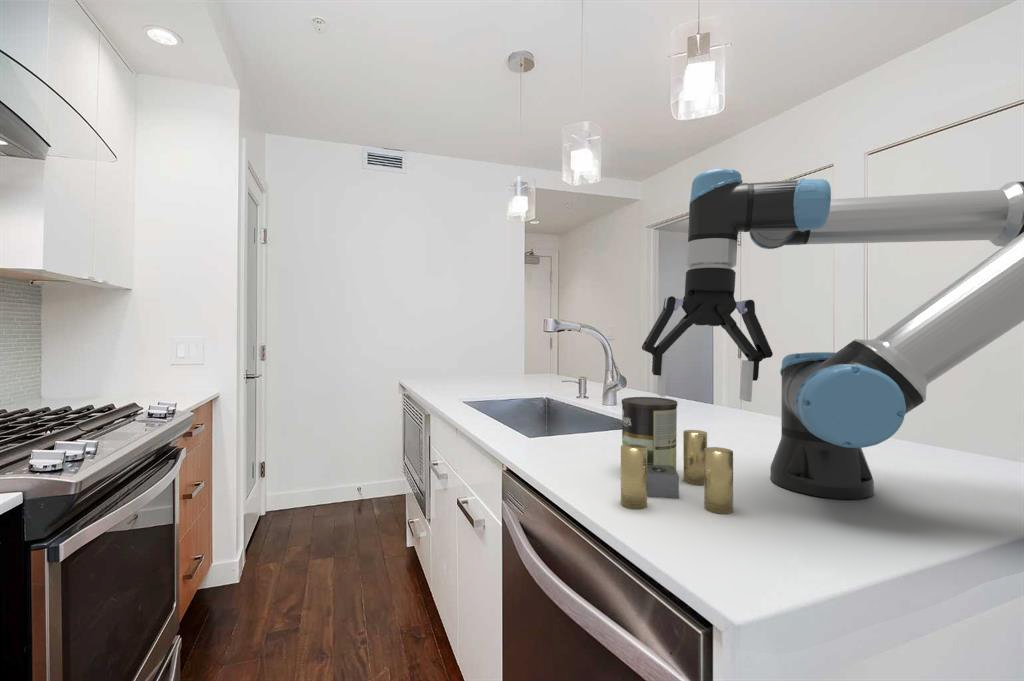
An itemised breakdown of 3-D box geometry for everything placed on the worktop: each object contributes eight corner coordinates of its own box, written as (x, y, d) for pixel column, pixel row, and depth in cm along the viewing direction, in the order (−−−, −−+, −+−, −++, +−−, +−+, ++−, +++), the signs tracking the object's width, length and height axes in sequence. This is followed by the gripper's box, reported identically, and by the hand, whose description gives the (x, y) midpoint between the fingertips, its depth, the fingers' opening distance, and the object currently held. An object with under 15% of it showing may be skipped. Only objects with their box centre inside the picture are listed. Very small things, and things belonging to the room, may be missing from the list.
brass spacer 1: (646, 501, 74) (646, 444, 74) (648, 510, 70) (648, 450, 70) (620, 499, 75) (620, 443, 75) (621, 508, 71) (621, 449, 71)
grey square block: (673, 488, 81) (673, 465, 81) (678, 499, 75) (678, 474, 75) (640, 486, 82) (640, 463, 82) (643, 497, 76) (643, 472, 76)
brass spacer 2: (704, 479, 86) (704, 430, 85) (709, 485, 82) (709, 434, 82) (681, 477, 86) (681, 429, 86) (685, 484, 82) (685, 433, 82)
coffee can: (624, 480, 85) (624, 403, 85) (619, 465, 95) (619, 396, 95) (683, 482, 83) (683, 404, 83) (671, 466, 94) (671, 397, 93)
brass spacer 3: (729, 505, 72) (729, 447, 72) (736, 515, 68) (736, 454, 68) (701, 503, 73) (701, 446, 73) (707, 513, 69) (707, 452, 69)
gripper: (777, 274, 79) (769, 398, 79) (629, 269, 81) (622, 390, 81) (802, 269, 71) (793, 406, 72) (637, 262, 73) (630, 396, 74)
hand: (702, 398), depth 77 cm, fingers open, 13 cm apart
